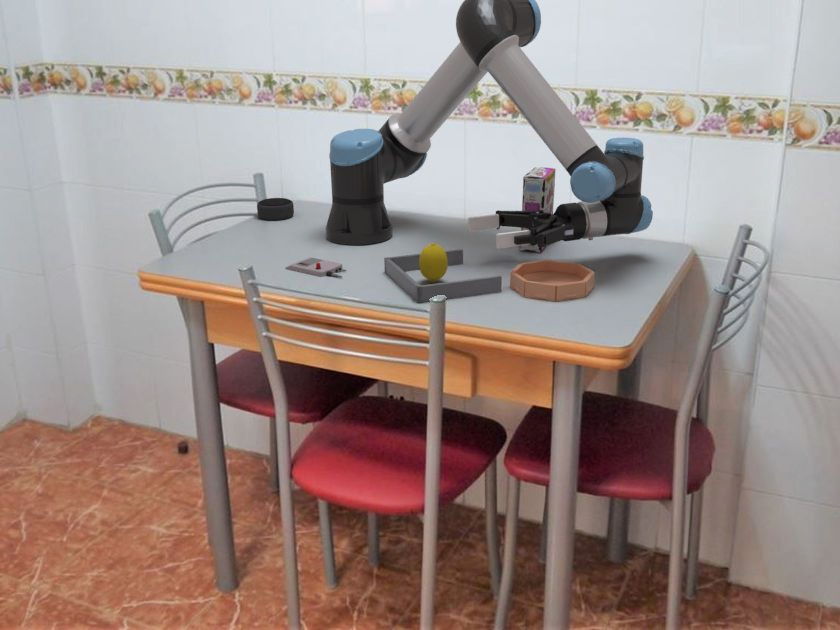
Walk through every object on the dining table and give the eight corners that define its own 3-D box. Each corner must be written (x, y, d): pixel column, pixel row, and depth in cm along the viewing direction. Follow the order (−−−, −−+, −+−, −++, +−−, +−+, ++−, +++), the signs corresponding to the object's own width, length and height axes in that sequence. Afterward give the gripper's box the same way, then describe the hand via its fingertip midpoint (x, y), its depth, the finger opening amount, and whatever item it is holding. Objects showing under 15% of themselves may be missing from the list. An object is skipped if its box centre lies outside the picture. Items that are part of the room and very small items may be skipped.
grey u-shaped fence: (384, 272, 187) (384, 257, 186) (461, 262, 193) (461, 248, 192) (417, 302, 170) (417, 287, 169) (501, 291, 175) (501, 276, 174)
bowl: (499, 280, 182) (499, 265, 181) (567, 271, 186) (568, 256, 185) (534, 304, 169) (534, 289, 167) (606, 294, 173) (607, 279, 172)
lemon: (448, 287, 178) (448, 247, 175) (419, 287, 178) (418, 247, 175) (447, 277, 183) (447, 238, 181) (419, 278, 183) (418, 239, 181)
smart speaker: (264, 212, 234) (263, 196, 233) (298, 213, 233) (297, 197, 232) (252, 221, 226) (251, 205, 225) (288, 222, 225) (287, 206, 223)
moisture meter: (300, 262, 196) (299, 248, 195) (358, 274, 188) (357, 260, 187) (278, 270, 191) (277, 256, 190) (337, 283, 183) (336, 269, 182)
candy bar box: (542, 254, 198) (545, 177, 192) (519, 251, 199) (521, 176, 194) (553, 240, 208) (556, 167, 202) (531, 238, 209) (533, 165, 203)
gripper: (610, 255, 177) (509, 268, 171) (549, 224, 199) (458, 235, 193) (612, 216, 175) (510, 229, 168) (550, 190, 197) (457, 200, 190)
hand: (482, 232), depth 180 cm, fingers open, 13 cm apart
